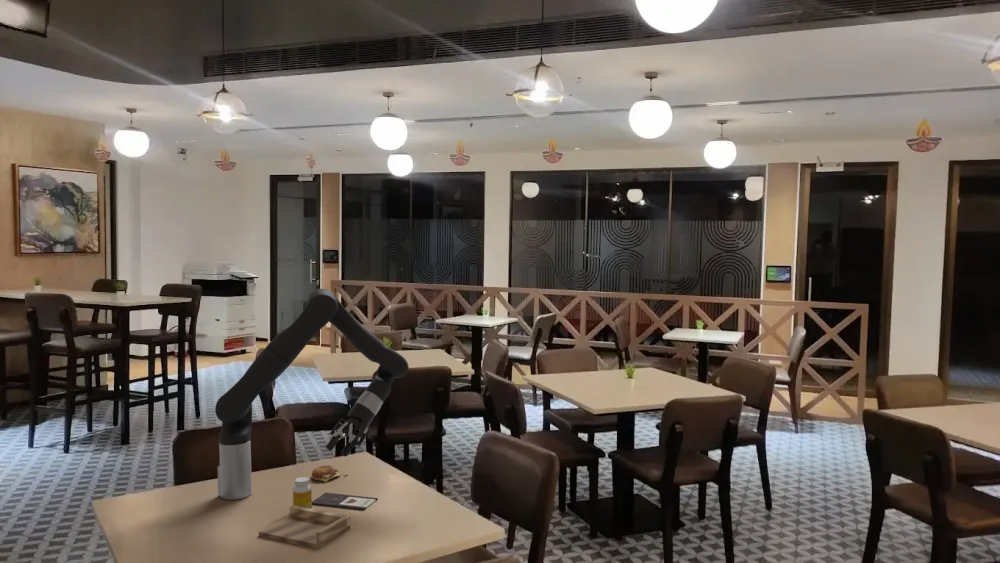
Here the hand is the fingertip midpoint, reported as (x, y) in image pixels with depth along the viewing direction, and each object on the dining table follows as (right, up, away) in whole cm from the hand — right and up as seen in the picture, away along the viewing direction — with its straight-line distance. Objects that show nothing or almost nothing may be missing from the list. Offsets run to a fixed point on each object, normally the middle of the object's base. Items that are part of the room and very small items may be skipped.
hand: (335, 452), depth 216 cm
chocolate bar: (+3, -16, 0) cm, 16 cm away
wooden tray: (-3, -16, -23) cm, 28 cm away
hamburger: (-7, -15, +23) cm, 28 cm away
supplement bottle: (-8, -16, -7) cm, 19 cm away
